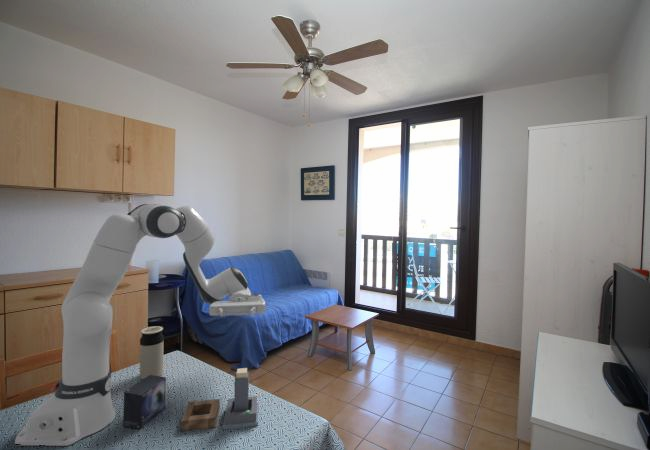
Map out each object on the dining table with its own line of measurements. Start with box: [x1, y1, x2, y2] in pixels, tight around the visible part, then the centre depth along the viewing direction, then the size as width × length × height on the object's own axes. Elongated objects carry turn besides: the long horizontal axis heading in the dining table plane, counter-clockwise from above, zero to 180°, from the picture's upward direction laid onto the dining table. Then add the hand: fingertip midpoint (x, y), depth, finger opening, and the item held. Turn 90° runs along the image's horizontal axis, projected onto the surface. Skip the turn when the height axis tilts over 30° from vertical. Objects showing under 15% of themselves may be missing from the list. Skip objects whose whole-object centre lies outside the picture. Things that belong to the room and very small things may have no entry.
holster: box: [180, 398, 221, 432], centre depth 94 cm, size 9×9×3 cm
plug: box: [233, 367, 250, 412], centre depth 95 cm, size 4×4×14 cm
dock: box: [222, 395, 259, 430], centre depth 95 cm, size 10×10×4 cm
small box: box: [122, 375, 167, 430], centre depth 94 cm, size 11×6×10 cm, turn 168°
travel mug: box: [139, 325, 165, 380], centre depth 119 cm, size 8×8×18 cm
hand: (236, 313), depth 108 cm, fingers open, 8 cm apart
